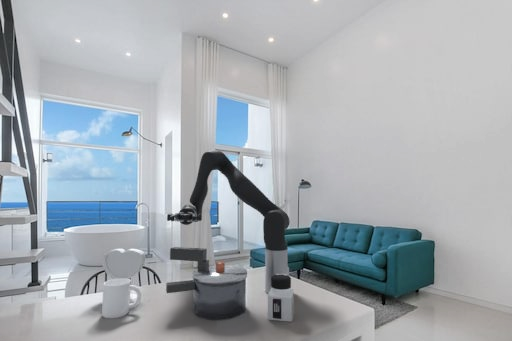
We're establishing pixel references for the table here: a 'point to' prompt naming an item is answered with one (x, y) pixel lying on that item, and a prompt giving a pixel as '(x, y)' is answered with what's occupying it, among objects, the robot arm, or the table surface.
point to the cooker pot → (214, 298)
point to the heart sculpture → (123, 264)
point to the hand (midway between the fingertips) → (182, 218)
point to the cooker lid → (208, 267)
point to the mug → (118, 297)
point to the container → (281, 298)
